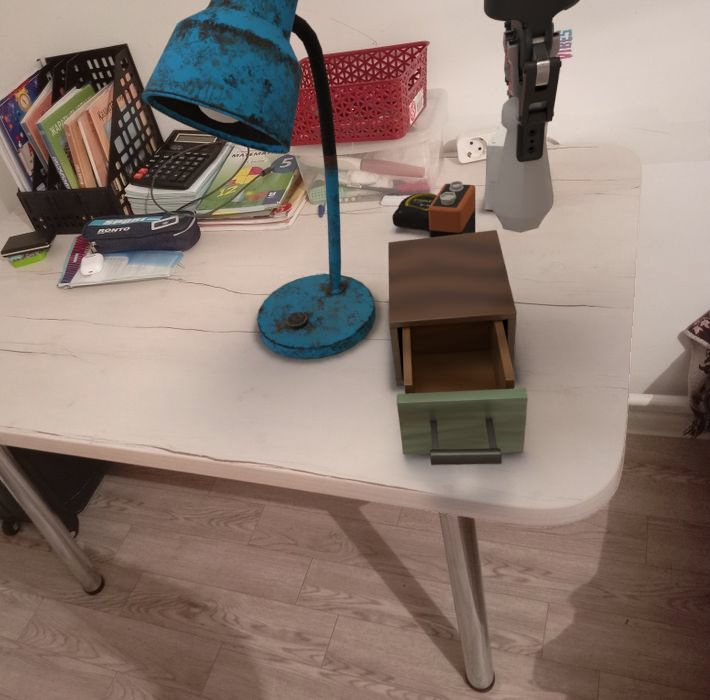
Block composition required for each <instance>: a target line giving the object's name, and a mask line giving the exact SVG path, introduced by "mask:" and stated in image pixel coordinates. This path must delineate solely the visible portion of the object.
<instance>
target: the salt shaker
mask: <svg viewBox="0 0 710 700" xmlns="http://www.w3.org/2000/svg"><path fill="white" fill-rule="evenodd" d="M540 105H541V102H538V103H533V104H531V105H530V106H529V108H535V107H540ZM515 115H517V110H516V97H514V96H513V97H511V98H510V99H509V98H508V99H507V100H506V101H505V102H504V103H503V104H502V108H501V115H500V116H501V117H500V118H501V121H500V123H502V126H504V127H505V128H506V129H507V132H506V137H505V142H504V146H503V151H502V156H501V160H500V165H499V170H498V175H497V179H496V184H495V189H494V194H493V198H492V210H491V211H492V212H493V213H494V215H495V217H496V218H497V220H498V222H499V223H500V225H501V227H502V229H503V230H505V231H510V232H514V233H520V234H521V233H525V232H528V231H532V230H536V229H539V227H540V225H541V224H542V222H543V220H544V219H545V218H546V217H547V215H548V213H549V212H550V211H551V210H552V208H553V206H554V200H555V197H554V196H555V195H554V188H553V182H552V181H553V179H552V174H551V166H550V159H549V152H548V151H549V150H548V144H547V136H546V137H545V131H544V145H543V156H542V157H541V158H540V159H539V160H534V161H527V162H519V161H518V160H517V158H516V138H517V121H516V120H515ZM547 123H549V122H545V125H546V124H547Z"/></svg>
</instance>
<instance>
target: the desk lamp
mask: <svg viewBox="0 0 710 700" xmlns="http://www.w3.org/2000/svg"><path fill="white" fill-rule="evenodd" d="M298 3H299V0H209V3H208V5H207V6H206V7H205V9H202V10H200V11H198V12H196V13H194V14H192V15H189V16H188V17H185V18H184V19H182V20H180V21H179V22H177V23H176V25H175V27H174V29H173V31H172V33H171V35H170V37H169V39H168V41H167V43H166V45H165V47H164V49H163V51H162V53H161V54H160V57H159V59H158V61H157V63H156V65H155V67H154V68H153V71H152V72H151V74H150V77H149V79H148V81H147V83H146V84H145V87H144V89H143V91H142V93H141V100H142V101H144V103H146V104H147V105H148V106H150V107H151V108H153V109H154V110H155V111H157V112H159V113H161V114H162V115H164V116H166V117H168V118H170V119H171V120H174V121H176V122H179V123H180V124H182V125H184V126H186V127H189V128H191V129H194V130H195V131H198V132H201V133H203V134H206V135H208V136H212V137H214V138H216V139H219V140H222V141H225V142H228V143H231V144H234V145H237V146H241V147H243V148H248V149H250V150H255V151H259V152H262V153H263V152H264V153H268V154H274V155H287V154H288V153H291V145H292V139H293V134H294V129H295V128H294V127H295V123H296V121H295V120H296V116H297V109H298V103H299V97H300V93H301V92H300V91H301V85H302V80H303V68H302V66H301V64H300V61H299V59H298V57H297V55H296V53H295V51H294V49H293V47H292V44H291V36H292V33H293V34H295V36H297V38H298V39H299V40H300V42H302V44H303V47H304V49H305V51H306V54H307V57H308V63H309V66H310V67H309V68H310V71H311V75H312V81H313V85H314V93H315V99H316V105H317V112H318V113H317V114H318V120H319V130H320V131H319V132H320V140H321V148H322V150H321V151H322V157H323V167H324V180H325V183H324V185H325V202H326V216H327V217H326V219H327V248H328V273H320V274H311V275H306V276H303V277H300V278H296V279H294V280H292V281H289V282H287V283H285V284H283V285H281V286H280V287H278V288H276V289H275V290H273V291H272V292H271V293H270V294H269V295H268V296H267V297H266V298H265V299H264V300H263V302H262V304H261V305H260V307H259V309H258V313H257V317H256V322H257V327H258V331H259V335H260V339H261V340H262V342H263V343H264V345H265V346H266V347H267V348H268V349H269V350H271V351H273V352H274V353H276V354H278V355H280V356H283V357H286V358H290V359H299V360H311V359H312V360H313V359H322V358H326V357H331V356H334V355H337V354H340V353H342V352H344V351H346V350H348V349H351V348H353V347H354V346H355V345H357V344H358V343H360V342H361V341H362V340H363V339H364V338H366V336H367V335H368V334H369V333H370V331H371V330H372V328H373V327H374V323H375V321H376V317H377V315H376V311H377V310H376V305H375V303H376V302H375V298H374V296H373V293H372V292H371V290H370V288H369V287H368V286H366V285H365V284H364V283H363V282H362V281H360V280H358V279H355V278H354V277H352V276H347V275H343V274H342V242H341V241H342V238H341V236H342V234H341V233H342V231H341V204H340V184H339V183H340V182H339V181H340V180H339V165H338V155H337V154H338V153H337V142H336V133H335V132H336V131H335V123H334V122H335V121H334V111H333V104H332V103H333V102H332V96H331V89H330V81H329V76H328V70H327V66H326V61H325V57H324V51H323V48H322V45H321V42H320V40H319V37H318V34H317V33H316V31H315V30H314V29H313V27H312V25H310V23H308V21H307V20H306V19H305V18H303V17H302V16H300V15H298V14H297V9H298V8H297V7H298Z"/></svg>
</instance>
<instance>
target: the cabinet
mask: <svg viewBox="0 0 710 700" xmlns="http://www.w3.org/2000/svg"><path fill="white" fill-rule="evenodd" d="M387 243H388V245H387V246H388V247H387V249H388V255H387V258H388V327H389V335H390V343H391V351H392V360H393V369H394V379H395V385H396V386H404V366H403V335H402V327H410V326H423V325H436V324H449V323H463V322H476V321H489V320H502V321H503V326H504V331H505V335H506V340H507V345H508V349H509V354H510V359H511V363H512V368H513V373H514V372H515V353H516V336H517V334H516V333H517V314H518V312H517V308H516V304H515V299H514V296H513V291H512V286H511V283H510V280H509V275H508V271H507V267H506V263H505V258H504V255H503V249H502V246H501V242H500V238H499V234H498V230H497V229H493V230H484V231H483V230H482V231H475V232H474V233H466V234H457V235H448V236H439V237H431V238H430V237H424V238H414V239H405V240H397V241H389V242H387ZM514 374H515V373H514Z"/></svg>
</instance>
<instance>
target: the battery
mask: <svg viewBox="0 0 710 700" xmlns="http://www.w3.org/2000/svg"><path fill="white" fill-rule="evenodd" d="M436 195H437V196H436V198H435V199H434V201H433V202H432V204H431V205H430V207H429V209H428V210H429V229H430V232H429V238H431V237H439V236H448V235H457V234H466V233H474V232H476V186H475V185H474V184H463V182H462V181H460V180H455V181H454V180H453V181H452V182H450V183H445V184H444V185H443V186H442V188H441V189H440V190H439V192H438V193H437V194H436Z"/></svg>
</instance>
